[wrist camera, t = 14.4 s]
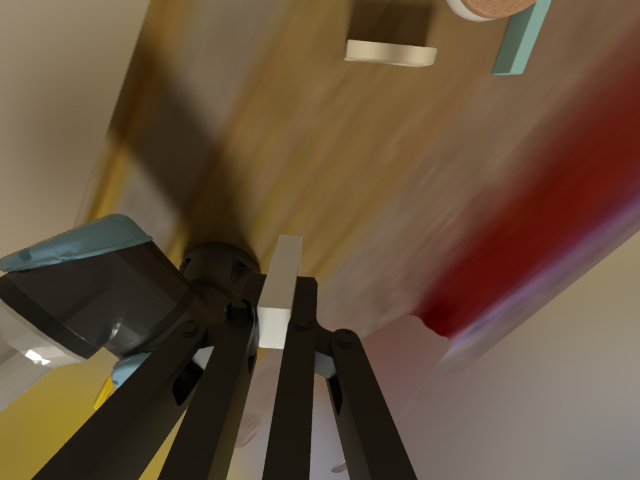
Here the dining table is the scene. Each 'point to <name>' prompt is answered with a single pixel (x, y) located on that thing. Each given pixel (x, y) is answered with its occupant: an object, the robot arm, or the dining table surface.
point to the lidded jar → (488, 8)
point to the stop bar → (520, 39)
